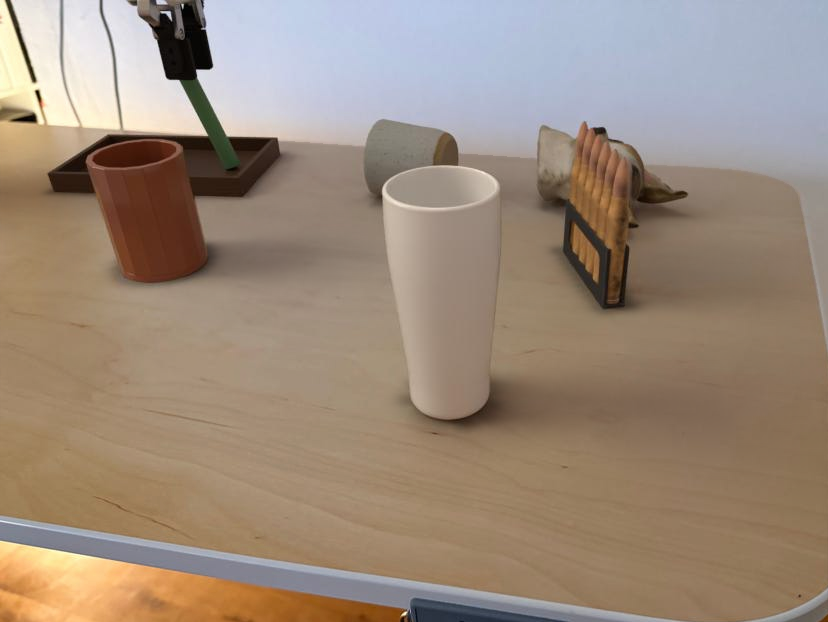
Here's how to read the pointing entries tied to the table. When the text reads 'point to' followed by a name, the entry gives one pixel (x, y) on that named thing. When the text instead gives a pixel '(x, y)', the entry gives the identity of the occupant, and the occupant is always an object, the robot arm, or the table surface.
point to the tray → (199, 158)
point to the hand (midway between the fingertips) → (190, 72)
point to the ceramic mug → (404, 151)
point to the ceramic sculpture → (559, 162)
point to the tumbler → (149, 208)
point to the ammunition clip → (598, 218)
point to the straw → (210, 122)
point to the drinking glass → (445, 282)
